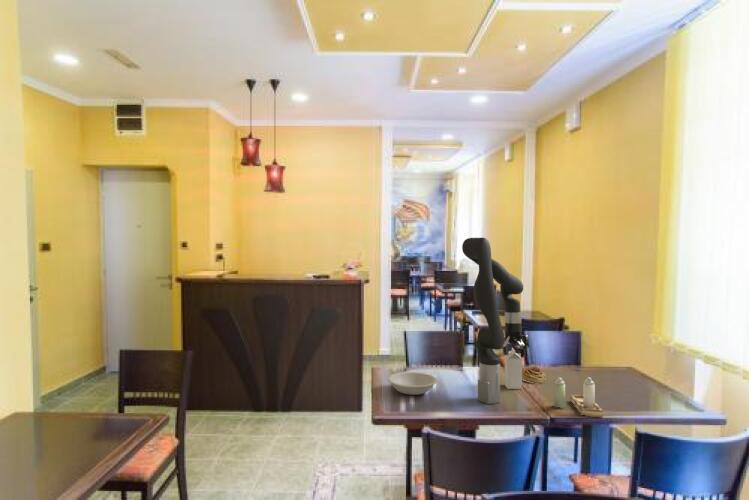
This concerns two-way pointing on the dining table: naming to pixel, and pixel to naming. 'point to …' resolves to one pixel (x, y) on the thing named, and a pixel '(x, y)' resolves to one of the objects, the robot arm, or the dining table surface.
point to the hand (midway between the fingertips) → (514, 356)
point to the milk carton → (513, 370)
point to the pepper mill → (559, 393)
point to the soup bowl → (412, 382)
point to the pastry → (533, 374)
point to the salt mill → (589, 394)
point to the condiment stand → (578, 403)
